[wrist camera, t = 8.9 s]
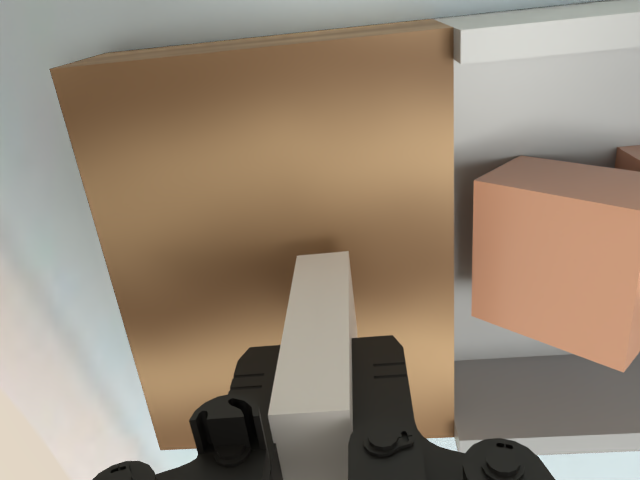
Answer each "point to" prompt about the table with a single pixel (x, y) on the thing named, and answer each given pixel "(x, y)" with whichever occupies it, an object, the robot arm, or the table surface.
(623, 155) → the tile
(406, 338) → the board
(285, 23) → the table surface
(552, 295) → the tile
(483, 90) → the bin
